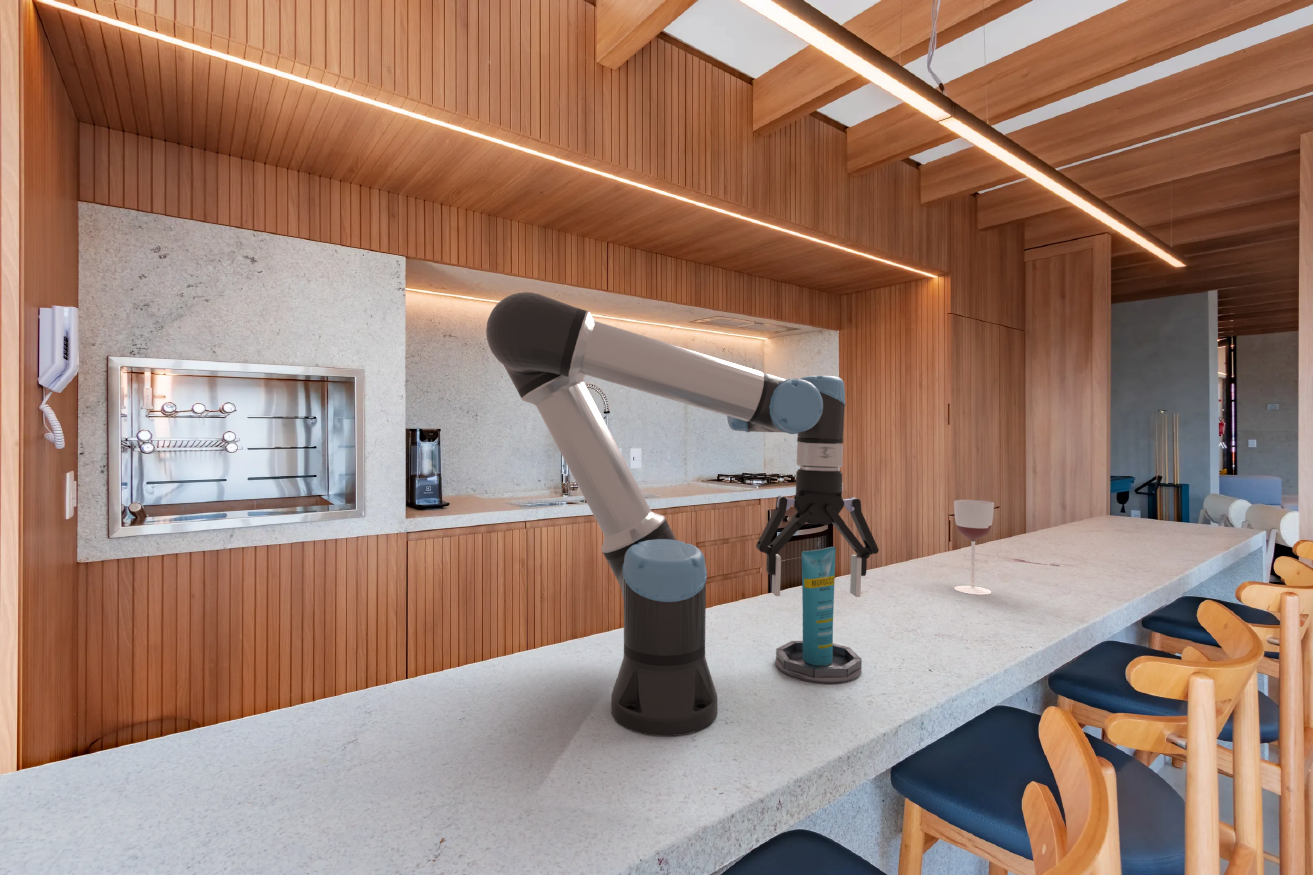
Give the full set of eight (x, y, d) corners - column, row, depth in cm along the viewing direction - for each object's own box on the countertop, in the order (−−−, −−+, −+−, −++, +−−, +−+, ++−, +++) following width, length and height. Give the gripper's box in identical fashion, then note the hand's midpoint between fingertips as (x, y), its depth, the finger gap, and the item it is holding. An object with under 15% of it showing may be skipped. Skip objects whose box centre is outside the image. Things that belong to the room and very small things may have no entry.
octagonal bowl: (787, 684, 98) (788, 670, 98) (767, 652, 112) (767, 640, 112) (875, 683, 99) (875, 669, 98) (843, 651, 112) (844, 638, 112)
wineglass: (960, 594, 151) (961, 503, 150) (948, 584, 160) (949, 499, 160) (998, 596, 149) (1000, 504, 149) (984, 585, 159) (985, 500, 158)
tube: (813, 670, 101) (813, 553, 101) (791, 661, 105) (792, 548, 105) (843, 660, 106) (844, 548, 105) (821, 652, 110) (822, 543, 109)
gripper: (750, 468, 100) (746, 599, 100) (901, 471, 101) (897, 601, 102) (741, 465, 108) (738, 587, 108) (882, 468, 109) (878, 589, 109)
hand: (815, 594), depth 105 cm, fingers open, 13 cm apart
